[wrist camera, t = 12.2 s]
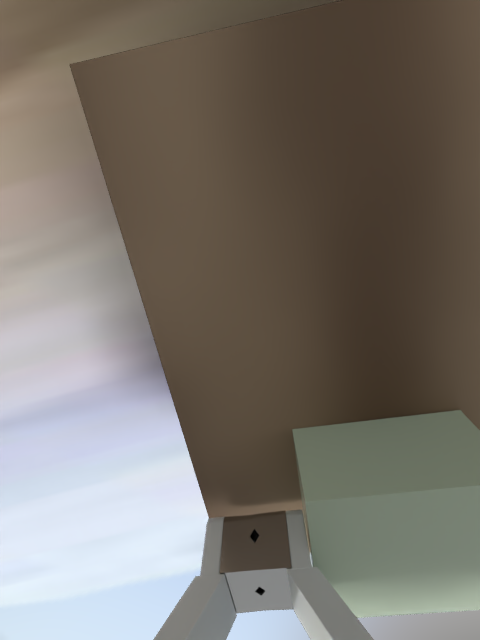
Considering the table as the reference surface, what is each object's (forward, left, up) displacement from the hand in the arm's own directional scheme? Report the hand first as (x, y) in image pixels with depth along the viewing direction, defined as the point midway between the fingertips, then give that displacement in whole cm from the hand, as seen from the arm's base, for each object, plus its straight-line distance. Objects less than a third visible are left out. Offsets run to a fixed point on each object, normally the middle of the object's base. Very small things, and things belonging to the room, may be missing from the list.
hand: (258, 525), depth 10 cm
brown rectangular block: (+4, +5, -7) cm, 9 cm away
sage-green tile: (+4, 0, -1) cm, 4 cm away
